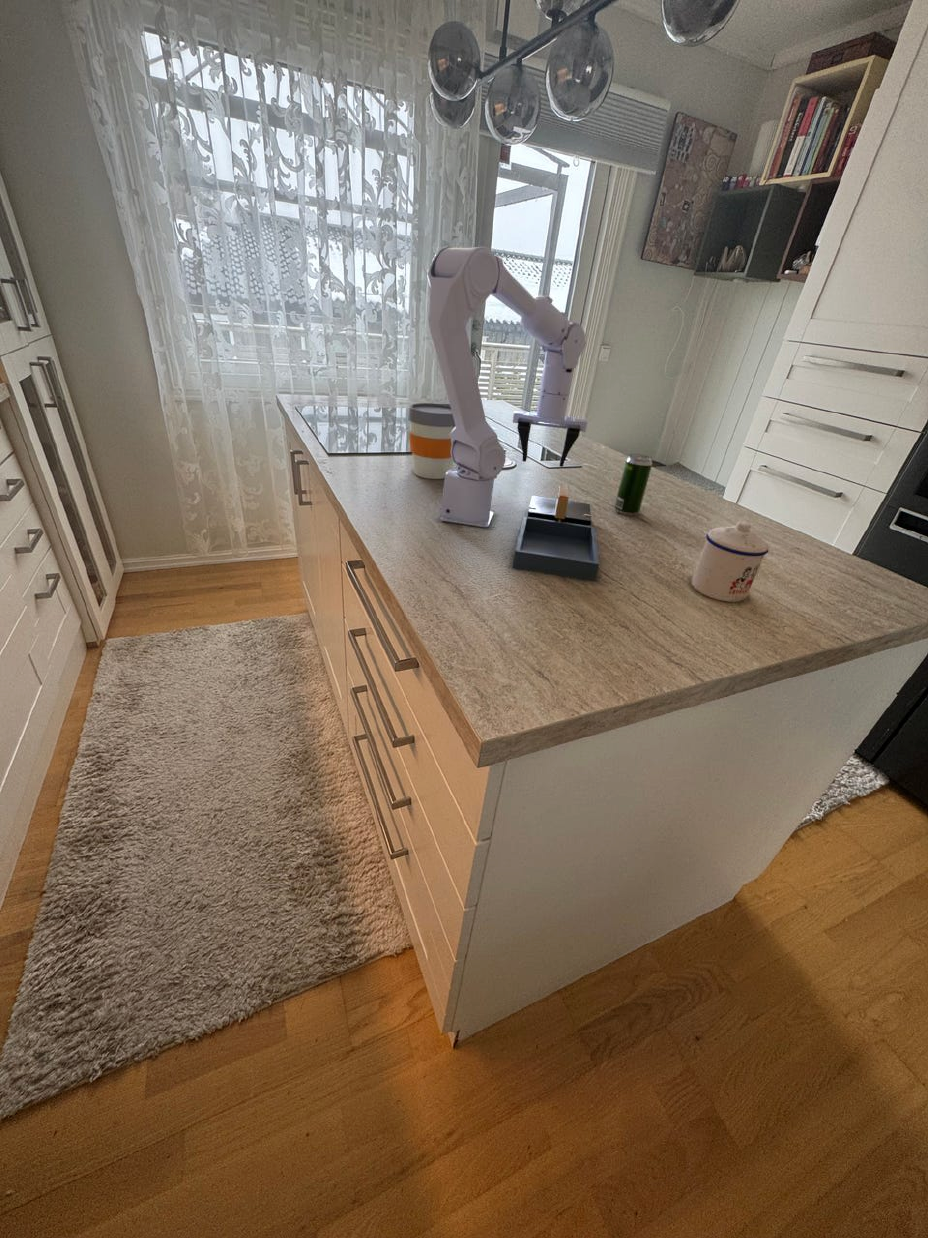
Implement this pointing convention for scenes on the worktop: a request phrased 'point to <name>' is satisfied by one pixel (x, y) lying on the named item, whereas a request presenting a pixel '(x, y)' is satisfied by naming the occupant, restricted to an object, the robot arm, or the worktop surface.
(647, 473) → the beer can
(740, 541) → the teacup with lid
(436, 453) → the reusable coffee cup
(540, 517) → the black cupboard
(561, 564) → the tray
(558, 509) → the yellow-brown long block
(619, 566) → the worktop surface
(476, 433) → the robot arm
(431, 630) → the worktop surface
